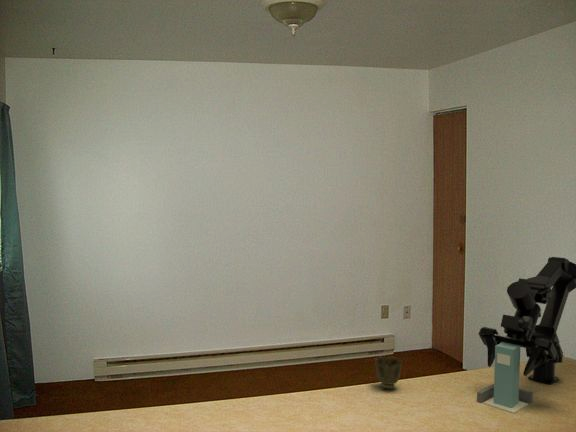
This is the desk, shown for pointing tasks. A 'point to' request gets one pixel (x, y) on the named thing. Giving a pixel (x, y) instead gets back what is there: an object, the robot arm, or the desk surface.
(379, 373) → the cup
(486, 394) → the corner arena
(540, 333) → the robot arm
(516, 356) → the teal block
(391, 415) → the desk surface
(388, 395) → the desk surface
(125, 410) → the desk surface
